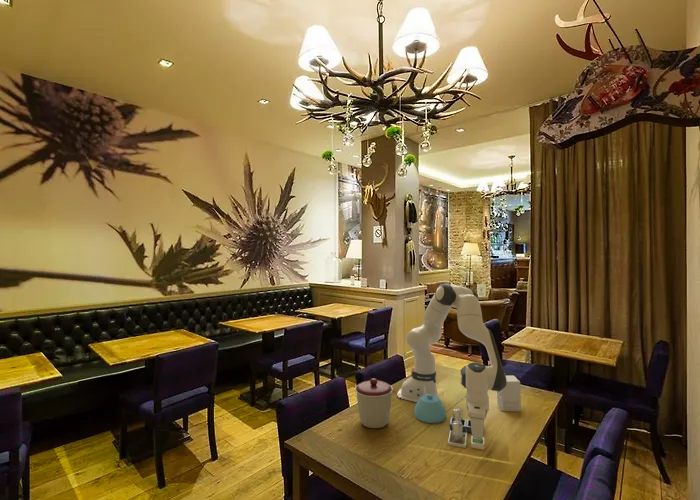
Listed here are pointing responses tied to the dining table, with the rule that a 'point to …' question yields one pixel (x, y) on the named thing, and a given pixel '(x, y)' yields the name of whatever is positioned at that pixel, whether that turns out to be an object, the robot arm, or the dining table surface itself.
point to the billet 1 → (458, 414)
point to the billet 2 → (457, 431)
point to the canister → (374, 402)
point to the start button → (477, 440)
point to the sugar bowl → (430, 409)
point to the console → (477, 444)
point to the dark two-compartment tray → (463, 426)
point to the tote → (457, 443)
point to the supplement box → (510, 395)
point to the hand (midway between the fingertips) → (478, 438)
